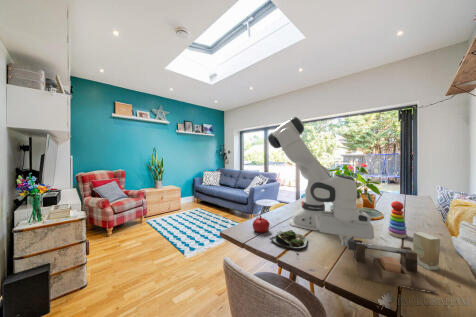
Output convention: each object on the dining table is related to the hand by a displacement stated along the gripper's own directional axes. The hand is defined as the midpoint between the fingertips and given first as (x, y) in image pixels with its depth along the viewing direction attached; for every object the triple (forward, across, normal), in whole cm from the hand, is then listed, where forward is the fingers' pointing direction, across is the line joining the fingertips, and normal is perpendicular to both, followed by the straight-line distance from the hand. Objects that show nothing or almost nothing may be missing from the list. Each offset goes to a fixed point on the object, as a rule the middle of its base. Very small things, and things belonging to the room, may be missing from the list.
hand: (344, 244), depth 75 cm
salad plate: (+7, -23, +8) cm, 26 cm away
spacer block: (+5, +14, -6) cm, 16 cm away
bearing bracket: (+6, +14, -4) cm, 15 cm away
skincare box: (+6, +30, +7) cm, 31 cm away
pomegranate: (+7, -40, +16) cm, 44 cm away
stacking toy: (+6, +32, +36) cm, 48 cm away
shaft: (+1, +12, 0) cm, 12 cm away
